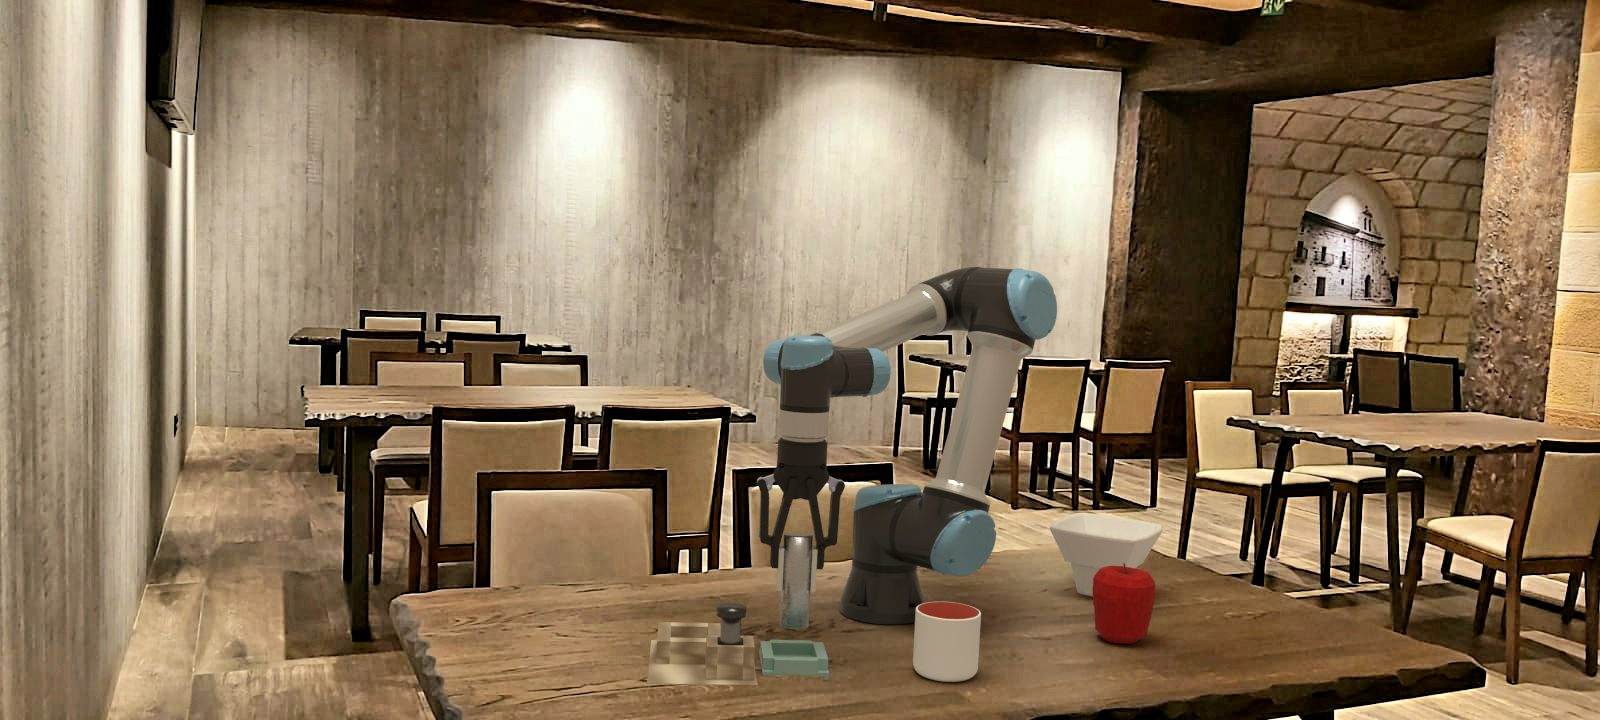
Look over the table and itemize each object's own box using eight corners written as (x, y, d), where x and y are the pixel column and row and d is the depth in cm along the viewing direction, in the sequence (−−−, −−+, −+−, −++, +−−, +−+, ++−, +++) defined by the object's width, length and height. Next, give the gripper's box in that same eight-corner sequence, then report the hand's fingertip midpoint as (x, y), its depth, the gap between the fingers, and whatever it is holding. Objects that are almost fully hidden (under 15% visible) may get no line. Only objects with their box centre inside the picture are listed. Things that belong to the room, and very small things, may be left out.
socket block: (750, 646, 207) (752, 611, 207) (757, 690, 187) (758, 651, 186) (651, 644, 206) (652, 609, 205) (646, 688, 185) (648, 649, 185)
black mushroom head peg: (743, 662, 193) (745, 603, 192) (744, 672, 189) (747, 611, 188) (714, 662, 193) (716, 602, 192) (714, 672, 189) (717, 611, 188)
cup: (907, 662, 202) (910, 600, 202) (969, 663, 203) (973, 601, 202) (918, 684, 193) (922, 619, 192) (983, 685, 193) (987, 620, 193)
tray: (821, 658, 202) (822, 640, 202) (828, 680, 192) (829, 660, 192) (758, 657, 201) (759, 639, 201) (762, 679, 191) (763, 660, 191)
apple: (1102, 650, 213) (1107, 570, 212) (1079, 631, 223) (1084, 555, 222) (1162, 650, 215) (1168, 570, 213) (1137, 631, 225) (1142, 555, 223)
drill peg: (806, 621, 198) (811, 532, 197) (809, 629, 194) (814, 538, 193) (778, 620, 198) (782, 531, 197) (780, 628, 194) (785, 537, 193)
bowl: (1165, 594, 250) (1170, 524, 249) (1133, 616, 234) (1139, 541, 233) (1073, 578, 260) (1078, 510, 259) (1037, 597, 244) (1041, 526, 243)
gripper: (856, 436, 198) (849, 584, 200) (744, 432, 197) (737, 581, 199) (863, 443, 191) (855, 597, 193) (746, 439, 189) (739, 594, 191)
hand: (795, 589), depth 196 cm, fingers closed on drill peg, 4 cm apart
